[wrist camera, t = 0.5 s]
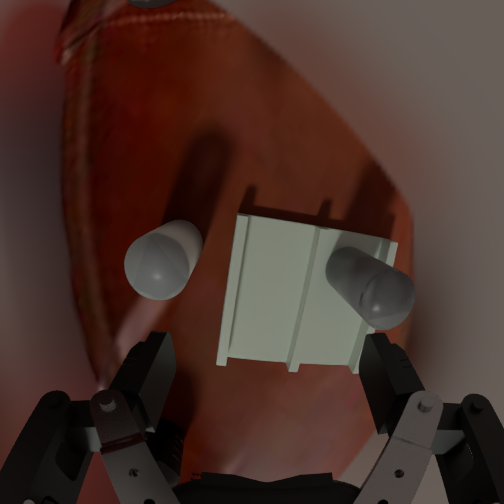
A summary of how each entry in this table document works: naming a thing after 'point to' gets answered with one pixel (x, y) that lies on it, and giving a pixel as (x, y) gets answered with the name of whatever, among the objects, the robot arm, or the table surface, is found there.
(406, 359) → the robot arm
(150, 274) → the white cylinder
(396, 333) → the table surface
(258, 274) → the divided tray
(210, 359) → the table surface
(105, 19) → the table surface
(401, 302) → the grey cylinder
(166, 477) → the supplement bottle
